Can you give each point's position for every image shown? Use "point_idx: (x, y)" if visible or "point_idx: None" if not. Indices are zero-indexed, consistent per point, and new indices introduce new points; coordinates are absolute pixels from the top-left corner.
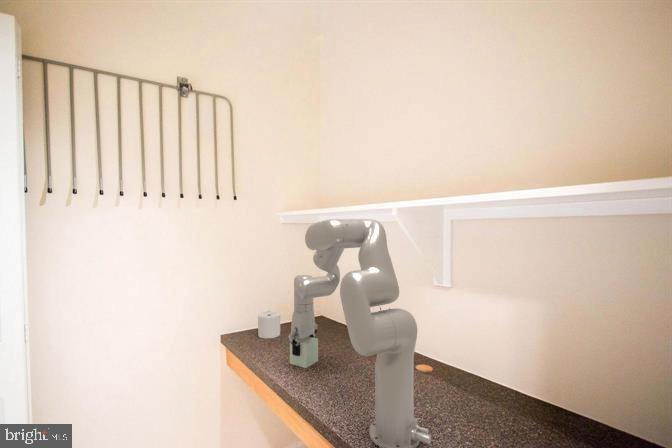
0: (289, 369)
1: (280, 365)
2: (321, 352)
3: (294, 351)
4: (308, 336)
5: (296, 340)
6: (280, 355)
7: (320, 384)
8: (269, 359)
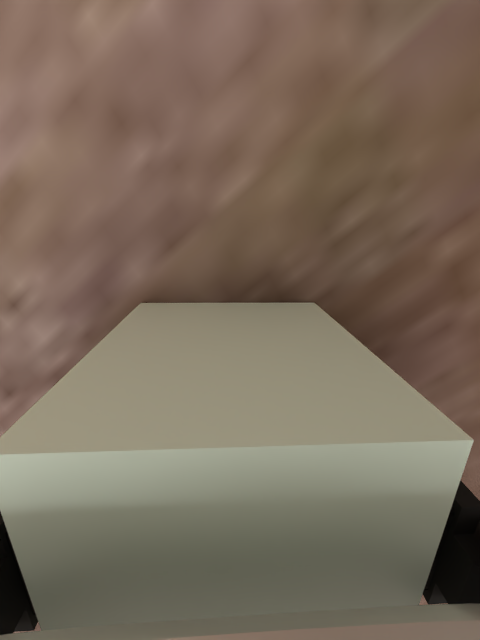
0: (62, 367)
1: (62, 253)
2: (458, 375)
3: None
4: (429, 569)
5: (112, 540)
6: (241, 65)
7: None
8: (81, 21)
